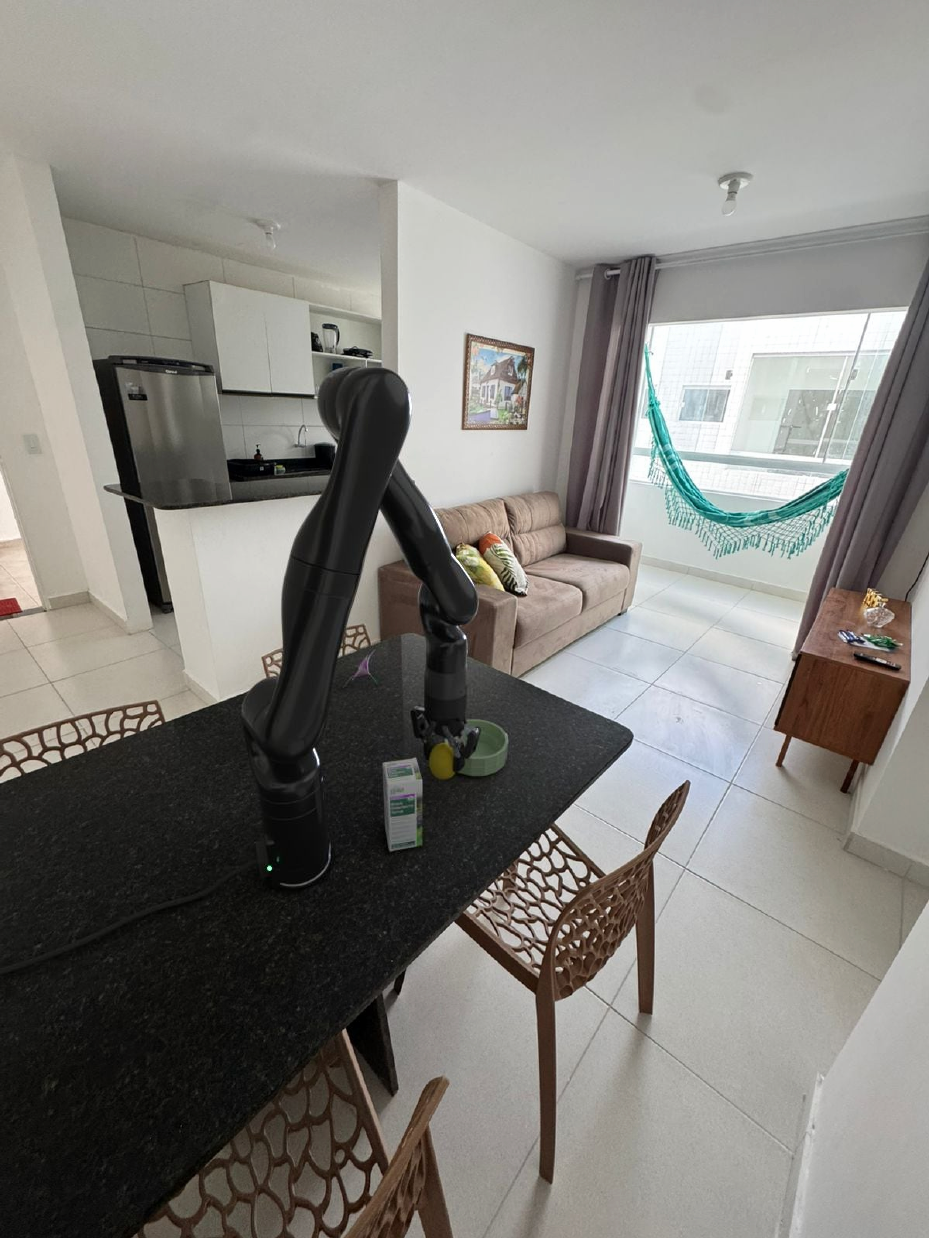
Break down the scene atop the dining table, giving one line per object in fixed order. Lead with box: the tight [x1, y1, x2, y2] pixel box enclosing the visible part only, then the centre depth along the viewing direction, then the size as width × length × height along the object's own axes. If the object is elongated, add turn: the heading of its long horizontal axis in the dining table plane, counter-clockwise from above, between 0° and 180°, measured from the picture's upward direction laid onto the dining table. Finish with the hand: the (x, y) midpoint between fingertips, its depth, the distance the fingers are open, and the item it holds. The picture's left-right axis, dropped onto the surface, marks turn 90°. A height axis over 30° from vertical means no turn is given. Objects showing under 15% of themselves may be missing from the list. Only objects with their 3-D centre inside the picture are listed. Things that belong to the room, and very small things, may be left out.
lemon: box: [428, 742, 456, 780], centre depth 96 cm, size 6×6×8 cm
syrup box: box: [382, 757, 423, 853], centre depth 86 cm, size 6×6×14 cm
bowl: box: [443, 718, 509, 777], centre depth 107 cm, size 13×13×5 cm
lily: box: [342, 650, 379, 689], centre depth 132 cm, size 12×12×10 cm
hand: (443, 763), depth 96 cm, fingers closed on lemon, 5 cm apart
